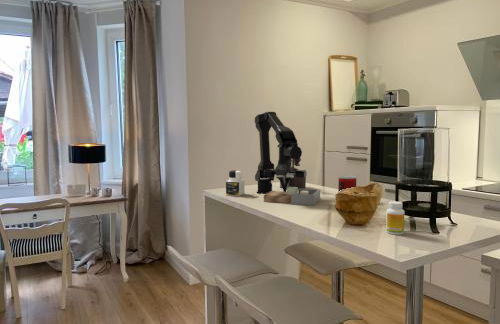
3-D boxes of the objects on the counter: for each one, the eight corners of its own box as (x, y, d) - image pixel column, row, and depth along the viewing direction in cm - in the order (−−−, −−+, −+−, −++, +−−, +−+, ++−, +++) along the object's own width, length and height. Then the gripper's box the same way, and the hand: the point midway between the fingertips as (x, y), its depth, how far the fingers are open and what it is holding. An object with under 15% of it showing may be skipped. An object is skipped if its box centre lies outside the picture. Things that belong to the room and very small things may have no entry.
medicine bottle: (225, 195, 192) (225, 171, 191) (231, 193, 198) (231, 169, 197) (239, 196, 189) (238, 171, 188) (244, 193, 196) (244, 170, 195)
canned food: (359, 200, 178) (359, 176, 177) (350, 202, 172) (350, 178, 171) (343, 198, 183) (344, 174, 182) (335, 200, 177) (335, 176, 176)
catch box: (291, 204, 169) (291, 193, 169) (298, 198, 183) (298, 188, 183) (314, 205, 166) (314, 195, 166) (320, 199, 180) (320, 189, 180)
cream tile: (300, 192, 173) (306, 192, 172) (301, 190, 177) (308, 191, 176) (300, 201, 174) (306, 201, 173) (302, 199, 177) (308, 199, 176)
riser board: (263, 201, 175) (263, 195, 175) (271, 197, 186) (271, 190, 186) (292, 203, 171) (292, 196, 170) (298, 198, 182) (298, 192, 182)
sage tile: (286, 194, 175) (286, 188, 175) (289, 193, 179) (289, 186, 179) (295, 195, 174) (295, 188, 174) (297, 193, 178) (297, 187, 177)
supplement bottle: (406, 235, 121) (407, 204, 120) (388, 234, 121) (388, 204, 121) (401, 230, 126) (402, 201, 125) (384, 230, 127) (385, 200, 126)
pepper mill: (278, 187, 215) (278, 155, 213) (294, 186, 220) (294, 154, 219) (296, 191, 201) (296, 157, 200) (312, 189, 207) (312, 156, 206)
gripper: (259, 158, 172) (259, 193, 173) (301, 159, 165) (301, 196, 167) (267, 156, 182) (267, 189, 184) (307, 157, 176) (306, 191, 177)
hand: (284, 191), depth 178 cm, fingers closed
